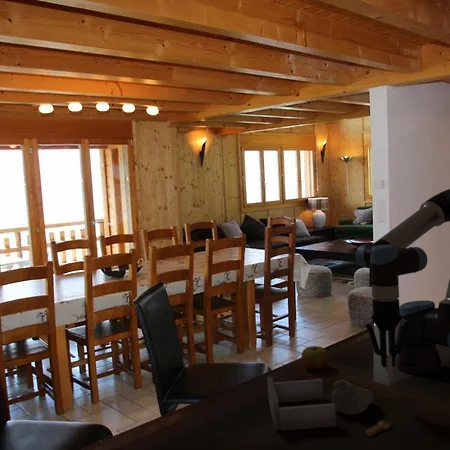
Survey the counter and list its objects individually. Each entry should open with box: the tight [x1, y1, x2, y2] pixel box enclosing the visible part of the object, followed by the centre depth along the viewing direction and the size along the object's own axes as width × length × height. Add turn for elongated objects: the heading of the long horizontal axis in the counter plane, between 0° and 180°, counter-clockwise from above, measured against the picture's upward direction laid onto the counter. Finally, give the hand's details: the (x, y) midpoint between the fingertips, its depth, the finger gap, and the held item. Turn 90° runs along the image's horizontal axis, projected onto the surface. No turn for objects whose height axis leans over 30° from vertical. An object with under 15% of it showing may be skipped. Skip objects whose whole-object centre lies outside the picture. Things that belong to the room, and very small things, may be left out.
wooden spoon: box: [365, 420, 390, 437], centre depth 138 cm, size 8×3×1 cm, turn 126°
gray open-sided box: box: [266, 376, 337, 432], centre depth 151 cm, size 17×19×8 cm
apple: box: [301, 345, 330, 371], centre depth 185 cm, size 10×10×8 cm
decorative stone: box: [331, 379, 374, 416], centre depth 151 cm, size 13×11×10 cm
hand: (388, 377), depth 151 cm, fingers closed
